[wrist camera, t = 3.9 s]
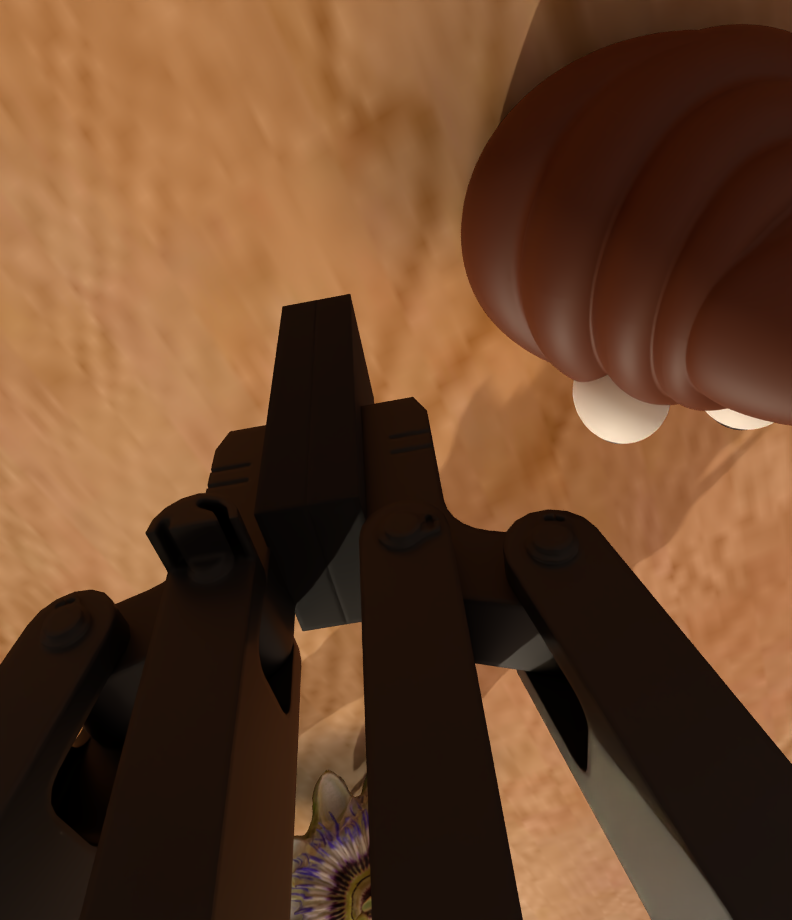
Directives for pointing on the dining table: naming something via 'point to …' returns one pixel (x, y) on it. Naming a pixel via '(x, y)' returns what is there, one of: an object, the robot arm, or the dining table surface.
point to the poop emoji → (648, 228)
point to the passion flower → (333, 856)
